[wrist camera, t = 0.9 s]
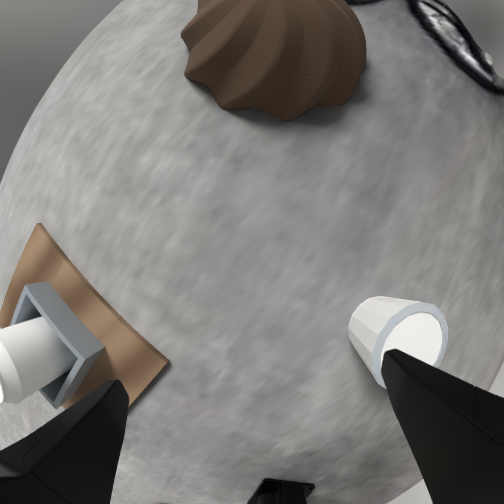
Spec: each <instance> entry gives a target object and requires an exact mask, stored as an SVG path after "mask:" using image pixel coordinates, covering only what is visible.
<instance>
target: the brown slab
mask: <svg viewBox="0 0 504 504" xmlns="http://www.w3.org/2000/svg"><path fill="white" fill-rule="evenodd" d="M46 281H49V283H50V284H51V285H52V287H53V288H54V289H55V290H56V292H57V293H58V294H59V296H60V297H61V298H62V299H63V301H64V302H65V303H66V304H67V305H68V307H69V308H70V309H71V310H72V311H73V312H74V314H75V315H76V316H77V317H78V318H79V319H80V320H81V322H82V323H83V324H84V325H85V326H86V327H87V328H88V329H89V330H90V331H91V332H92V333H93V335H94V336H95V337H96V338H97V339H98V340H99V341H100V342H101V343H102V344H103V345H104V346H105V348H104V349H103V351H102V352H101V354H100V355H99V357H98V358H97V360H96V361H95V363H94V364H93V366H92V367H91V369H90V370H89V372H88V373H87V375H86V377H85V378H84V380H83V381H82V383H81V385H80V386H79V388H78V389H77V391H76V393H75V394H74V396H73V397H71V398H70V399H69V400H68V401H66V402H65V403H64V404H63V405H62V406H63V407H64V408H65V409H67V408H69V407H70V406H72V405H73V404H74V403H76V402H77V401H79V400H80V399H81V398H83V397H84V396H86V395H87V394H88V393H90V392H91V391H93V390H94V389H95V388H97V387H98V386H100V385H101V384H102V383H104V382H105V381H107V380H108V379H119V380H120V381H121V382H122V384H123V386H124V388H125V390H126V391H127V393H128V395H129V406H130V405H131V404H132V402H133V401H134V400H135V399H136V398H137V397H138V396H139V394H140V393H141V392H142V391H143V390H144V389H145V387H146V386H147V385H148V384H149V383H150V382H151V381H152V379H153V378H154V377H155V376H156V375H157V374H158V373H159V371H160V370H161V369H162V368H163V367H164V366H165V364H166V363H167V362H168V361H169V360H168V359H167V358H166V357H165V356H164V355H162V354H161V353H160V352H159V351H158V350H157V349H155V348H154V347H153V346H152V345H151V344H150V343H149V342H148V341H146V340H145V339H144V338H143V337H142V336H141V335H140V334H139V333H138V332H137V331H136V330H134V329H133V328H132V327H131V326H130V325H129V324H128V323H127V322H126V321H125V320H124V319H123V318H122V317H121V316H120V315H119V314H118V313H117V312H116V311H115V310H114V309H113V308H112V307H111V306H110V305H109V304H108V303H107V302H106V301H105V300H104V299H103V298H102V296H101V295H100V294H99V293H98V292H97V291H96V290H95V289H94V288H93V287H92V286H91V284H90V283H89V282H88V281H87V280H86V279H85V278H84V277H83V275H82V274H81V273H80V272H79V271H78V270H77V268H76V267H75V266H74V265H73V264H72V262H71V261H70V260H69V259H68V258H67V256H66V255H65V254H64V253H63V251H62V250H61V249H60V247H59V246H58V245H57V244H56V242H55V241H54V240H53V238H52V237H51V236H50V234H49V233H48V232H47V230H46V229H45V227H44V226H43V225H42V223H37V224H36V226H35V228H34V230H33V232H32V234H31V236H30V238H29V240H28V242H27V244H26V246H25V248H24V251H23V253H22V255H21V257H20V260H19V262H18V264H17V267H16V269H15V272H14V274H13V277H12V279H11V282H10V285H9V288H8V290H7V293H6V296H5V299H4V302H3V305H2V308H1V312H0V327H1V329H3V328H6V327H9V326H10V324H11V321H12V318H13V315H14V312H15V309H16V306H17V304H18V301H19V299H20V296H21V293H22V291H23V289H24V286H25V285H26V284H33V283H39V282H46Z"/></svg>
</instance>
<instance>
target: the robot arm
mask: <svg viewBox="0 0 504 504" xmlns="http://www.w3.org/2000/svg"><path fill="white" fill-rule="evenodd" d="M381 375H382V378H383V381H384V384H385V387H386V389H387V392H388V395H389V398H390V401H391V404H392V407H393V410H394V412H395V415H396V417H397V419H398V421H399V423H400V425H401V428H402V430H403V432H404V434H405V436H406V439H407V441H408V443H409V445H410V448H411V450H412V452H413V455H414V457H415V459H416V462H417V464H418V466H419V469H420V471H421V474H422V476H423V479H424V481H425V484H426V486H427V489H428V491H429V494H430V496H431V499H432V500H433V501H432V502H433V504H504V398H503V397H500V396H497V395H494V394H492V393H490V392H487V391H485V390H483V389H481V388H478V387H476V386H475V387H474V385H472V384H470V383H467V382H465V381H463V380H461V379H459V378H457V377H455V376H453V375H450V374H448V373H446V372H444V371H442V370H440V369H438V368H436V367H434V366H432V365H430V364H427V363H425V362H423V361H421V360H419V359H417V358H415V357H413V356H411V355H409V354H407V353H405V352H403V351H401V350H399V349H396V348H394V349H391V350H387V351H385V353H384V355H383V361H382V366H381ZM128 407H129V395H128V393H127V391H126V390H125V388H124V386H123V384H122V382H121V381H120V380H119V379H108V380H107V381H105V382H104V383H102V384H101V385H100V386H98V387H97V388H95V389H94V390H93V391H91V392H90V393H88V394H87V395H86V396H84V397H83V398H81V399H80V400H79V401H77V402H76V403H74V404H73V405H72V406H70V407H69V408H67V409H66V410H64V411H63V412H62V413H60V414H59V415H57V416H56V417H54V418H53V419H52V420H50V421H49V422H47V423H46V424H44V425H43V427H42V426H41V427H40V428H38V429H37V430H36V431H34V432H33V433H31V434H29V435H28V436H26V437H25V438H23V439H21V440H19V441H18V442H16V443H14V444H12V445H10V446H8V447H7V448H5V449H3V450H1V451H0V504H110V500H111V494H112V489H113V484H114V479H115V474H116V470H117V465H118V461H119V456H120V452H121V448H122V444H123V439H124V435H125V428H126V421H127V414H128ZM314 488H315V486H314V484H309V483H298V482H290V481H282V480H275V479H269V478H266V479H264V480H263V481H262V482H261V484H260V485H259V487H258V488H257V490H256V491H255V492H254V494H253V495H252V497H251V498H250V499H249V501H248V502H247V504H307V499H306V498H307V497H308V496H309V494H310V493H311V492H312V491H313V490H314Z"/></svg>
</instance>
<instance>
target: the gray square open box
mask: <svg viewBox="0 0 504 504" xmlns="http://www.w3.org/2000/svg"><path fill="white" fill-rule="evenodd" d="M41 315H42V316H43V318H44V319H45V320H46V322H47V323H48V324H49V325H50V327H51V328H52V329H53V330H54V332H55V333H56V334H57V335H58V336H59V338H60V339H61V340H62V341H63V342H64V344H65V345H66V346H67V347H68V348H69V349H70V350H71V351H72V353H73V354H74V355H75V356H76V357H77V358H78V359H77V361H76V363H75V364H74V366H73V368H72V370H71V371H70V373H69V375H68V377H66V376H65V375H64V374H63V375H61V376H59V377H58V378H56V379H55V380H53V381H52V382H50V383H49V384H47V385H46V386H44V387H42V388H41V389H39V391H40V392H41V394H42V395H43V396H44V397H45V398H46V399H47V400H48V401H49V402H50V404H51V405H52V406H53V407H54V408H55V409H58V408H59V407H60V406H61V405H63V404H64V403H65V402H66V401H68V400H69V399H70V398H71V397H73V396H74V394H75V393H76V391H77V389H78V388H79V386H80V385H81V383H82V381H83V380H84V378H85V377H86V375H87V373H88V372H89V370H90V369H91V367H92V366H93V364H94V363H95V361H96V360H97V358H98V357H99V355H100V354H101V352H102V351H103V349H104V348H105V346H104V345H103V344H102V343H101V342H100V341H99V340H98V339H97V338H96V337H95V336H94V335H93V333H92V332H91V331H90V330H89V329H88V328H87V327H86V326H85V325H84V324H83V323H82V322H81V320H80V319H79V318H78V317H77V316H76V315H75V314H74V312H73V311H72V310H71V309H70V308H69V307H68V305H67V304H66V303H65V302H64V301H63V299H62V298H61V297H60V296H59V294H58V293H57V292H56V290H55V289H54V288H53V287H52V285H51V284H50V283H49V281H46V282H39V283H33V284H26V285H25V286H24V289H23V291H22V293H21V296H20V299H19V301H18V304H17V306H16V309H15V312H14V315H13V318H12V321H11V324H10V326H12V325H16V324H19V323H22V322H25V321H29V320H32V319H35V318H38V317H40V316H41Z"/></svg>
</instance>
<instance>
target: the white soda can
mask: <svg viewBox="0 0 504 504" xmlns="http://www.w3.org/2000/svg"><path fill="white" fill-rule="evenodd" d="M77 359H78V358H77V357H76V356H75V355H74V354H73V353H72V351H71V350H70V349H69V348H68V347H67V346H66V345H65V344H64V342H63V341H62V340H61V339H60V338H59V336H58V335H57V334H56V333H55V332H54V330H53V329H52V328H51V327H50V325H49V324H48V323H47V322H46V320H45V319H44V318H43V316H42V317H38V318H35V319H32V320H29V321H25V322H22V323H19V324H16V325H12V326H9V327H6V328H3V329H0V404H1V403H3V402H6V403H15V404H16V403H19V402H21V401H22V400H24V399H25V398H27V397H28V396H30V395H32V394H33V393H35V392H36V391H38V390H39V389H41V388H42V387H44V386H46V385H47V384H49V383H50V382H52V381H53V380H55V379H56V378H58V377H59V376H61V375H63V374H64V373H66V372H67V371H69V370H70V369H72V368H73V366H74V364H75V363H76V361H77Z"/></svg>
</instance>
